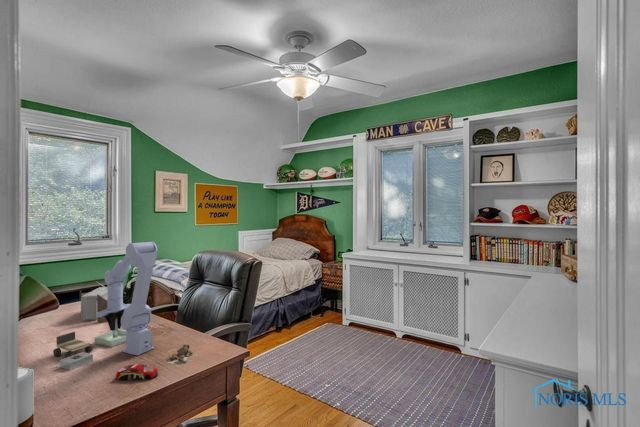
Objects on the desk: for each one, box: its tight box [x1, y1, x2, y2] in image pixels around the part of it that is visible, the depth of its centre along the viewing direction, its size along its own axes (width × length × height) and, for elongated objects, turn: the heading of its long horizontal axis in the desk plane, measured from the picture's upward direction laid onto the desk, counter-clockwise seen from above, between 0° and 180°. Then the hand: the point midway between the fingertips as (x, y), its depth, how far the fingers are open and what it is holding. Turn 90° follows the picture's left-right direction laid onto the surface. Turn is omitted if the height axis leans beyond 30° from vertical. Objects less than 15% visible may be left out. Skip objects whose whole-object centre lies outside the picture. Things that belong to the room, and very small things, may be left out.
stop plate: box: [59, 351, 94, 371], centre depth 127 cm, size 6×8×2 cm
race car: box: [115, 363, 159, 382], centre depth 118 cm, size 13×5×4 cm, turn 94°
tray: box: [94, 328, 126, 348], centre depth 150 cm, size 11×11×2 cm
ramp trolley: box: [52, 331, 94, 358], centre depth 136 cm, size 10×9×7 cm
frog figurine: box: [167, 344, 198, 365], centre depth 133 cm, size 12×12×4 cm
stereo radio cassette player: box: [80, 281, 107, 322], centre depth 185 cm, size 21×8×20 cm, turn 10°
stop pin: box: [113, 317, 118, 338], centre depth 149 cm, size 2×2×8 cm
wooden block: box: [96, 294, 108, 324], centre depth 176 cm, size 4×11×18 cm, turn 134°
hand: (115, 329), depth 149 cm, fingers closed on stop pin, 2 cm apart
